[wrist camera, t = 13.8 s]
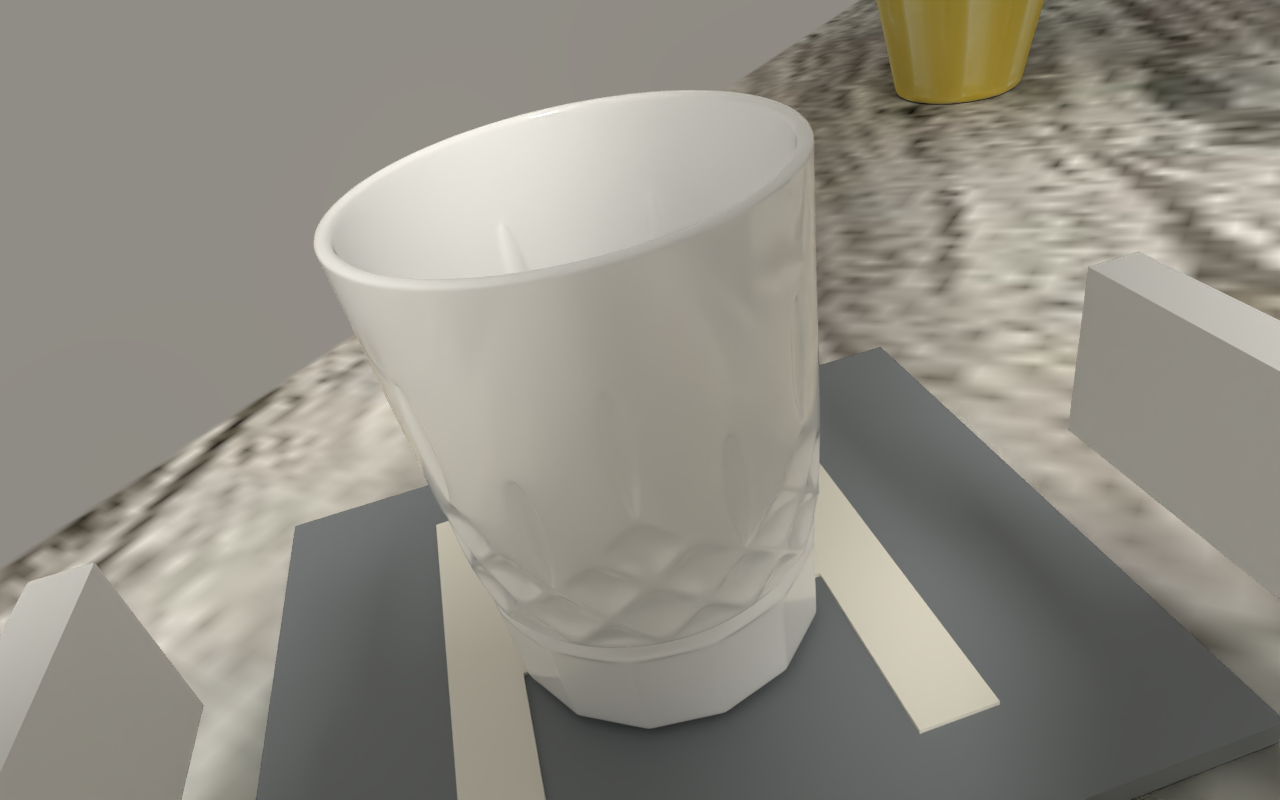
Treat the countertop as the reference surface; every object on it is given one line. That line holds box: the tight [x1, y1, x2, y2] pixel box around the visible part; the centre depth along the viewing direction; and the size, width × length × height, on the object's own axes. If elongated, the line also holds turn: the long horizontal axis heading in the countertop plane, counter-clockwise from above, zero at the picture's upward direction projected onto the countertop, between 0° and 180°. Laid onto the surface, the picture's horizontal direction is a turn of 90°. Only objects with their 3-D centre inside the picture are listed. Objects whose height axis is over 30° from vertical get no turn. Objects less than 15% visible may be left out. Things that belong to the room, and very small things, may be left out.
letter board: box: [256, 347, 1280, 800], centre depth 19 cm, size 18×14×1 cm
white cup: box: [314, 90, 820, 729], centre depth 16 cm, size 8×8×10 cm
